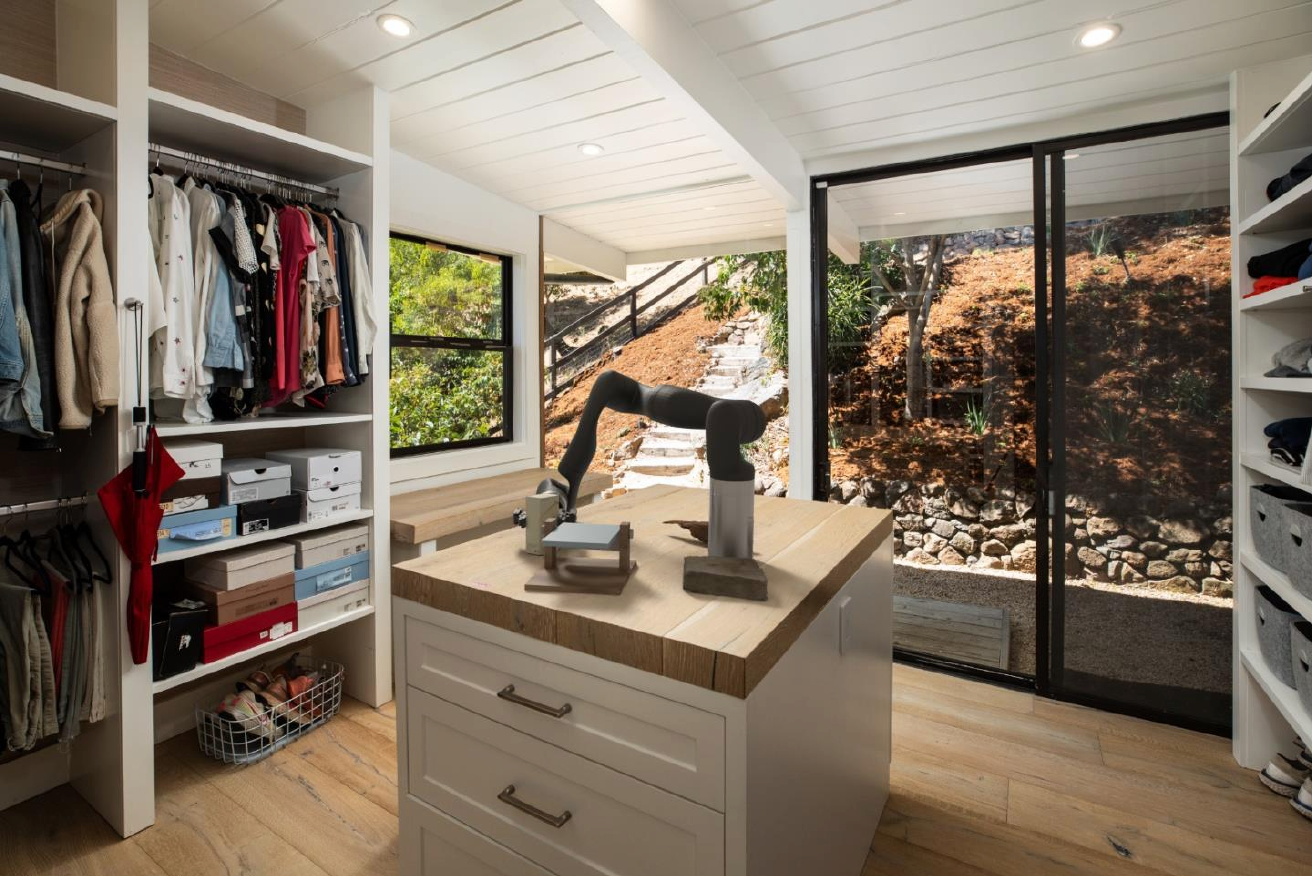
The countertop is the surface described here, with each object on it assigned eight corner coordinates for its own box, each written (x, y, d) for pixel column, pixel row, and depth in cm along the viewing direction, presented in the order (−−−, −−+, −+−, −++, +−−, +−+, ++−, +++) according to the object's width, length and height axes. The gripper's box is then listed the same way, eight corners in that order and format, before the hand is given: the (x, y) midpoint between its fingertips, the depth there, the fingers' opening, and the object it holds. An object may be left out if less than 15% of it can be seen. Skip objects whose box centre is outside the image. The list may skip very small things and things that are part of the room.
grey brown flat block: (768, 603, 115) (769, 579, 115) (681, 600, 116) (682, 576, 116) (758, 574, 132) (759, 553, 131) (682, 572, 132) (683, 551, 132)
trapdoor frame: (552, 560, 138) (552, 512, 137) (638, 565, 136) (638, 516, 135) (522, 589, 119) (522, 533, 118) (621, 595, 117) (622, 538, 116)
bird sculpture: (668, 531, 166) (669, 511, 166) (760, 548, 151) (760, 526, 151) (652, 536, 161) (653, 515, 160) (745, 554, 146) (746, 531, 146)
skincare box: (540, 556, 141) (540, 498, 140) (524, 552, 144) (524, 496, 143) (559, 549, 147) (560, 494, 146) (544, 546, 149) (544, 492, 148)
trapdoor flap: (563, 544, 135) (563, 522, 135) (622, 547, 134) (623, 525, 133) (541, 565, 120) (541, 540, 120) (607, 568, 119) (608, 543, 118)
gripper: (518, 492, 158) (506, 505, 142) (580, 492, 159) (575, 506, 143) (518, 523, 159) (506, 540, 143) (580, 524, 160) (575, 541, 143)
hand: (541, 523), depth 143 cm, fingers open, 7 cm apart
